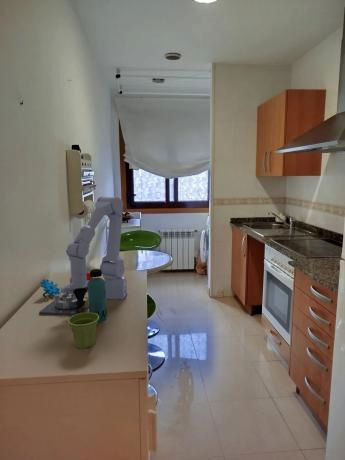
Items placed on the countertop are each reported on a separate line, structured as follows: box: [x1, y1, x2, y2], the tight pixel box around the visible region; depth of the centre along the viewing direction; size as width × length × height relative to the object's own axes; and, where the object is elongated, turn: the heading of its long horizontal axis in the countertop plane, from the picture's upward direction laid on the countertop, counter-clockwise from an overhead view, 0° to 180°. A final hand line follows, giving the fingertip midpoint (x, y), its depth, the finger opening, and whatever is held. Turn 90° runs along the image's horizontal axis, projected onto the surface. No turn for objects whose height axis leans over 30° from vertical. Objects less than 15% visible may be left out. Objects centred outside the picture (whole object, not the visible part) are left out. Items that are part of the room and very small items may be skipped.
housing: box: [61, 292, 76, 301], centre depth 136 cm, size 6×6×5 cm
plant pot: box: [67, 311, 99, 349], centre depth 104 cm, size 9×9×9 cm
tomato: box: [69, 271, 94, 289], centre depth 160 cm, size 11×11×8 cm
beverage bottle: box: [87, 268, 108, 324], centre depth 118 cm, size 6×7×20 cm
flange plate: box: [38, 296, 89, 317], centre depth 136 cm, size 17×17×1 cm
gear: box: [40, 278, 62, 298], centre depth 150 cm, size 11×6×10 cm
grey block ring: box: [53, 291, 88, 309], centre depth 135 cm, size 11×14×4 cm
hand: (80, 306), depth 131 cm, fingers closed, pressing on grey block ring
